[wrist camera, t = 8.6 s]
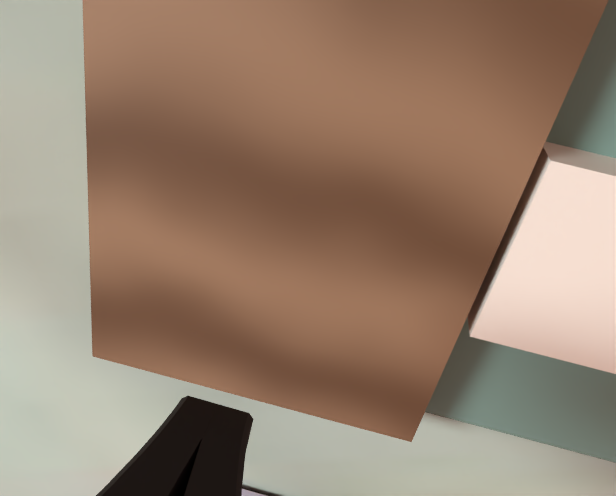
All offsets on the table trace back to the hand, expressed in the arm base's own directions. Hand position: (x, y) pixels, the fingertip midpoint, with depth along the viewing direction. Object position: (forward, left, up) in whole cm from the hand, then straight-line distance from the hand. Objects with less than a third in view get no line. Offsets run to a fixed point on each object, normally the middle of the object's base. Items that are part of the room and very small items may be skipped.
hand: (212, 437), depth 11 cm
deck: (+2, 0, -9) cm, 9 cm away
